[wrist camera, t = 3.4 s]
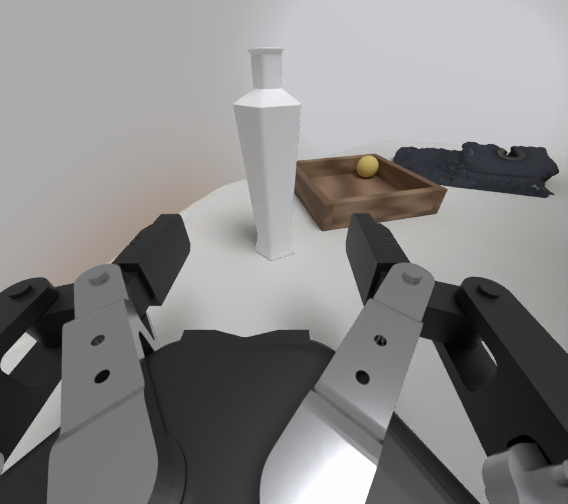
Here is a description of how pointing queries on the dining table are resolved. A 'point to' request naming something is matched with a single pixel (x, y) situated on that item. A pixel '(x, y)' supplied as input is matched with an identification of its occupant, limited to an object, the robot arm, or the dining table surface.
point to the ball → (367, 166)
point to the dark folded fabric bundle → (483, 167)
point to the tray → (363, 191)
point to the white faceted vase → (269, 151)
